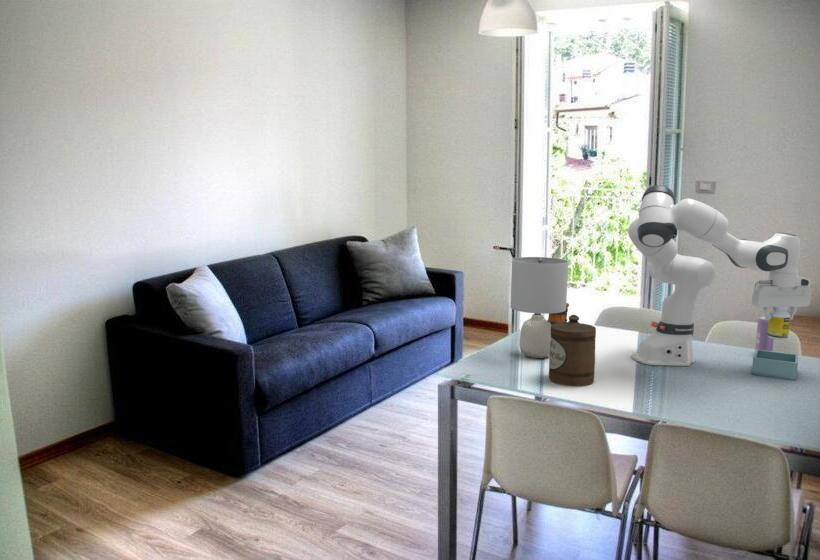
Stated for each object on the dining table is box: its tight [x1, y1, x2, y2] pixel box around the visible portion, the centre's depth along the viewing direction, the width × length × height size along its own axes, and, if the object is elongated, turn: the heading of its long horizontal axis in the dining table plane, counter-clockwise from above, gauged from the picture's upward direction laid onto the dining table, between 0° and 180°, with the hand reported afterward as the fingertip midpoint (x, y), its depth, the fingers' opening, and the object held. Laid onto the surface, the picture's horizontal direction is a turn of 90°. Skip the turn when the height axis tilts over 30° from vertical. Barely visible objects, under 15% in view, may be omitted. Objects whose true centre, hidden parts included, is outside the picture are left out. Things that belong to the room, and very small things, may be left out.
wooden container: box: [548, 314, 597, 387], centre depth 237 cm, size 15×15×22 cm
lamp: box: [509, 256, 569, 359], centre depth 266 cm, size 20×20×37 cm
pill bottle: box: [767, 306, 791, 341], centre depth 247 cm, size 6×6×12 cm
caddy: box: [751, 349, 799, 381], centre depth 250 cm, size 14×14×6 cm
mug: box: [547, 302, 570, 325], centre depth 312 cm, size 13×10×12 cm
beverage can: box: [754, 315, 775, 352], centre depth 272 cm, size 6×6×15 cm
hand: (779, 319), depth 247 cm, fingers closed on pill bottle, 6 cm apart
